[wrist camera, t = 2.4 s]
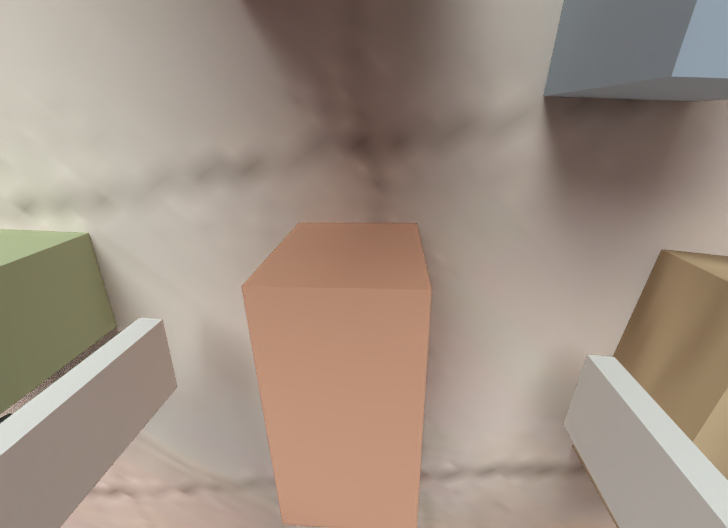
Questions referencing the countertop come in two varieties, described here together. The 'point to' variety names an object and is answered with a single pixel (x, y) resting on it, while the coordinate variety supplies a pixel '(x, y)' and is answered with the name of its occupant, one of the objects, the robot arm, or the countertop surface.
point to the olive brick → (46, 306)
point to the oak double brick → (683, 348)
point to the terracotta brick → (343, 371)
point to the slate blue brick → (641, 50)
